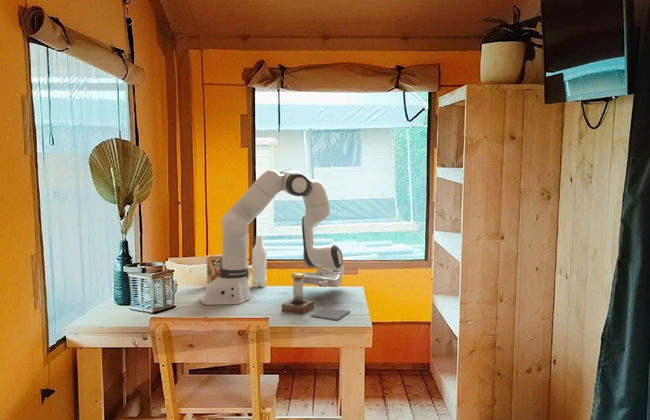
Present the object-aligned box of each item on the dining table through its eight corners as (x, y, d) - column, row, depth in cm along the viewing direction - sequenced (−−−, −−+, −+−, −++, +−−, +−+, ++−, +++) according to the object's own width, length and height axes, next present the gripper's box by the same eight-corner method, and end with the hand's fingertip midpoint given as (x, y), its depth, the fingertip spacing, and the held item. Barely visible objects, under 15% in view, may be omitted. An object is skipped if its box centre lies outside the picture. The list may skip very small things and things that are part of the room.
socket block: (303, 314, 213) (303, 307, 213) (281, 311, 217) (281, 304, 217) (314, 307, 222) (314, 301, 222) (293, 304, 226) (293, 298, 226)
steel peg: (293, 312, 216) (293, 276, 215) (289, 308, 222) (289, 273, 220) (306, 310, 218) (306, 275, 217) (302, 307, 223) (302, 272, 222)
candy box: (224, 284, 261) (224, 254, 260) (226, 286, 257) (225, 255, 256) (206, 285, 258) (206, 255, 256) (208, 287, 254) (207, 256, 253)
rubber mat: (337, 320, 206) (337, 319, 205) (310, 316, 211) (310, 315, 211) (349, 312, 216) (349, 311, 216) (323, 308, 221) (323, 307, 221)
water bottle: (264, 288, 254) (263, 237, 251) (250, 287, 255) (249, 237, 252) (268, 284, 261) (268, 235, 258) (255, 284, 262) (254, 234, 259)
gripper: (304, 267, 246) (290, 273, 234) (344, 272, 237) (331, 278, 225) (304, 281, 247) (290, 287, 234) (344, 286, 238) (331, 293, 226)
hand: (310, 283), depth 230 cm, fingers open, 8 cm apart
